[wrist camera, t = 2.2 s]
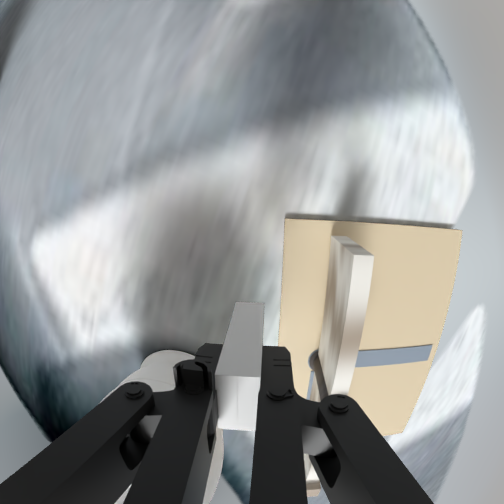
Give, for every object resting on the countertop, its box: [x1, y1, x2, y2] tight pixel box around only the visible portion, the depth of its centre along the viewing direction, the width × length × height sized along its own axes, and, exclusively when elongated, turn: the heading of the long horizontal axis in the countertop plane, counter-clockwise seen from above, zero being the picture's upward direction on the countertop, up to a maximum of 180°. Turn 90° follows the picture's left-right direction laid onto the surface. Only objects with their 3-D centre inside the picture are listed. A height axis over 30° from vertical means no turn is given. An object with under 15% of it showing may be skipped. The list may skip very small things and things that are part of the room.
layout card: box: [278, 218, 462, 436], centre depth 23 cm, size 24×16×1 cm, turn 179°
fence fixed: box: [304, 351, 321, 497], centre depth 21 cm, size 14×2×7 cm, turn 179°
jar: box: [99, 350, 224, 504], centre depth 18 cm, size 11×10×15 cm
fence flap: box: [313, 236, 374, 400], centre depth 19 cm, size 12×2×7 cm, turn 179°
